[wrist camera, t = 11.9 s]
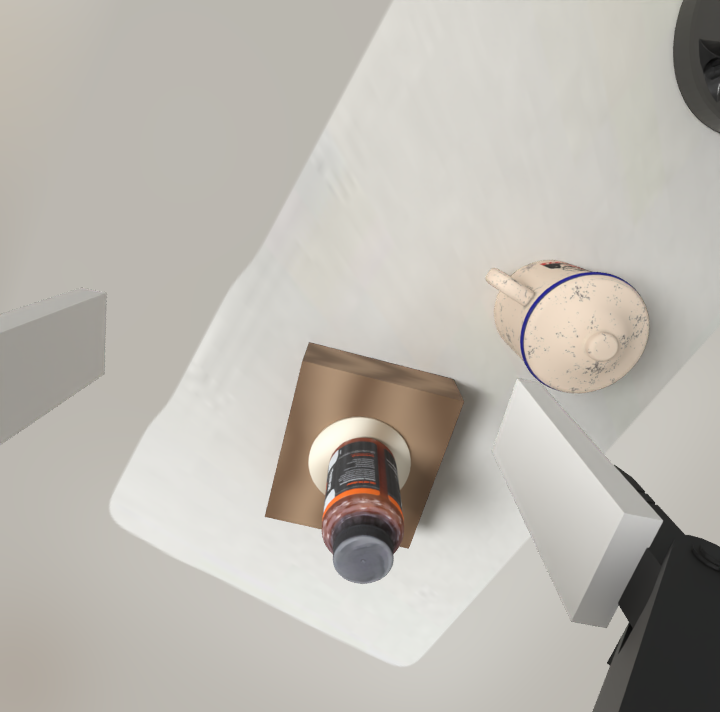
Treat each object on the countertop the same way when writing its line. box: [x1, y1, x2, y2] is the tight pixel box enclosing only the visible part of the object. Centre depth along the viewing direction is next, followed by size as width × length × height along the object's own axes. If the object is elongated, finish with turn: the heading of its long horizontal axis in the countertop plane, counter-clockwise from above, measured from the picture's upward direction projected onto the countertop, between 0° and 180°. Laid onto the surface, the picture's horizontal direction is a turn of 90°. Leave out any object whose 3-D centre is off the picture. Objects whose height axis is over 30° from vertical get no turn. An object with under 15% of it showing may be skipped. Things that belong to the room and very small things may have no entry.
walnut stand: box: [265, 342, 464, 549], centre depth 43 cm, size 14×16×5 cm
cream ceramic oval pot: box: [486, 260, 649, 393], centre depth 36 cm, size 12×9×12 cm
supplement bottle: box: [322, 438, 404, 584], centre depth 35 cm, size 6×6×11 cm
